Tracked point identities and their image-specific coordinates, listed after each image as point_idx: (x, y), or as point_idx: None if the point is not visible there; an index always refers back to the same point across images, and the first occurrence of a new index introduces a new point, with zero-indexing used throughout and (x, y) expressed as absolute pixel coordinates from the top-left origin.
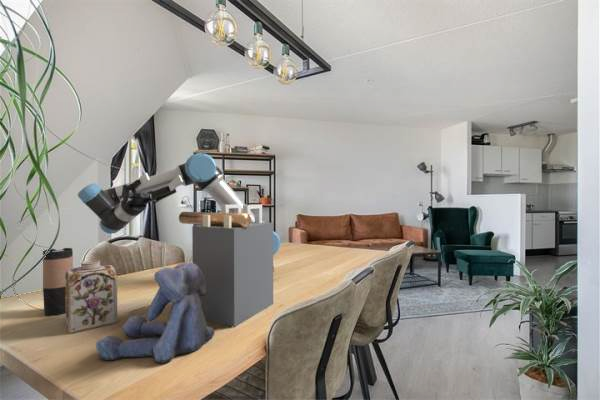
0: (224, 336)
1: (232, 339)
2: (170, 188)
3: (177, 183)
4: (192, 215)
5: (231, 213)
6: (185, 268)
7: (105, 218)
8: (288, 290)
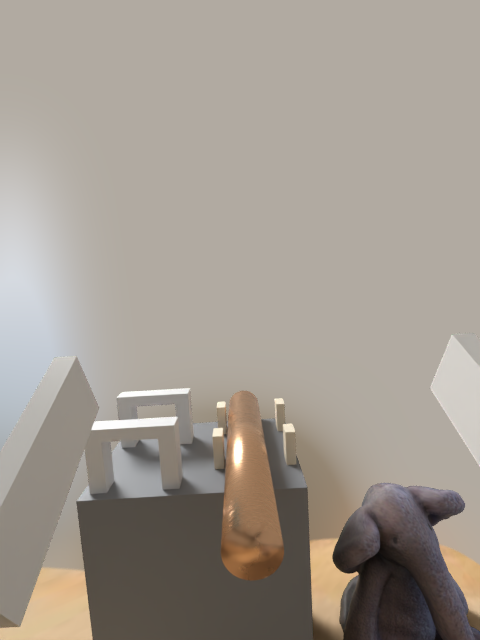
0: (328, 592)
1: (326, 575)
2: (16, 595)
3: (76, 449)
4: (270, 482)
5: (247, 405)
6: (400, 485)
7: None
8: (30, 635)
